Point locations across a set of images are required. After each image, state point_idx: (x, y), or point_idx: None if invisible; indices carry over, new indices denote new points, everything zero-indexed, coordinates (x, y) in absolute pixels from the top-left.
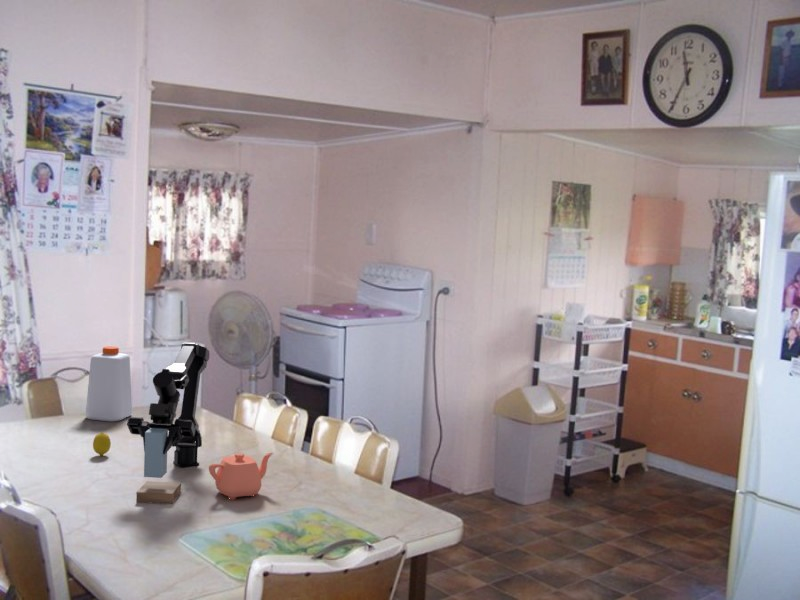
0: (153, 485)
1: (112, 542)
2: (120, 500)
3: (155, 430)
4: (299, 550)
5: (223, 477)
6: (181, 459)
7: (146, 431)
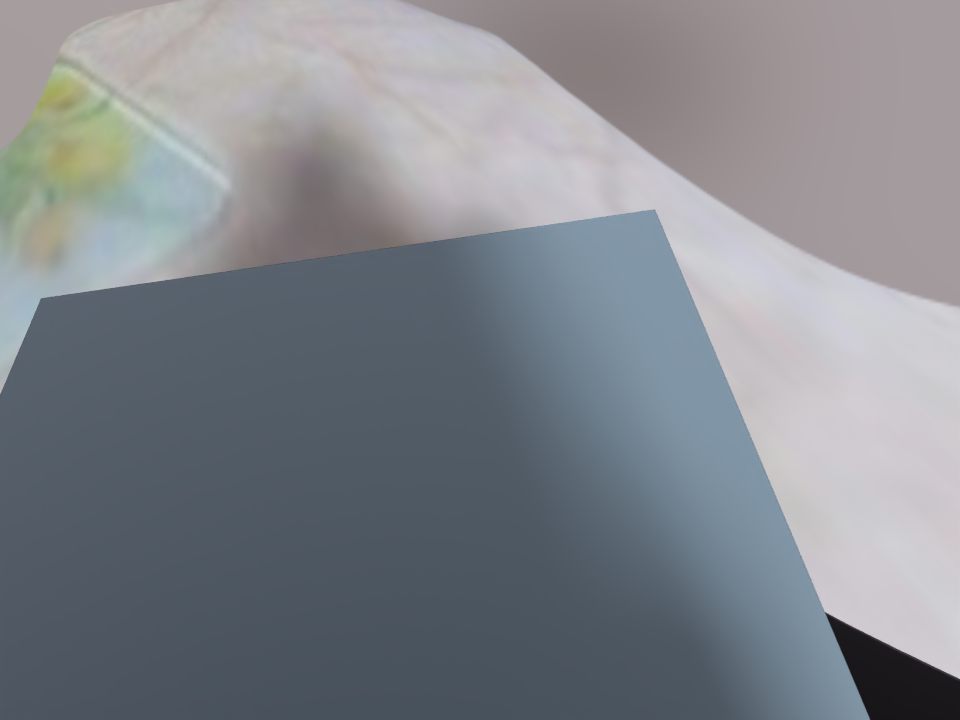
0: None
1: (435, 115)
2: None
3: (389, 585)
4: None
5: None
6: None
7: (672, 295)
